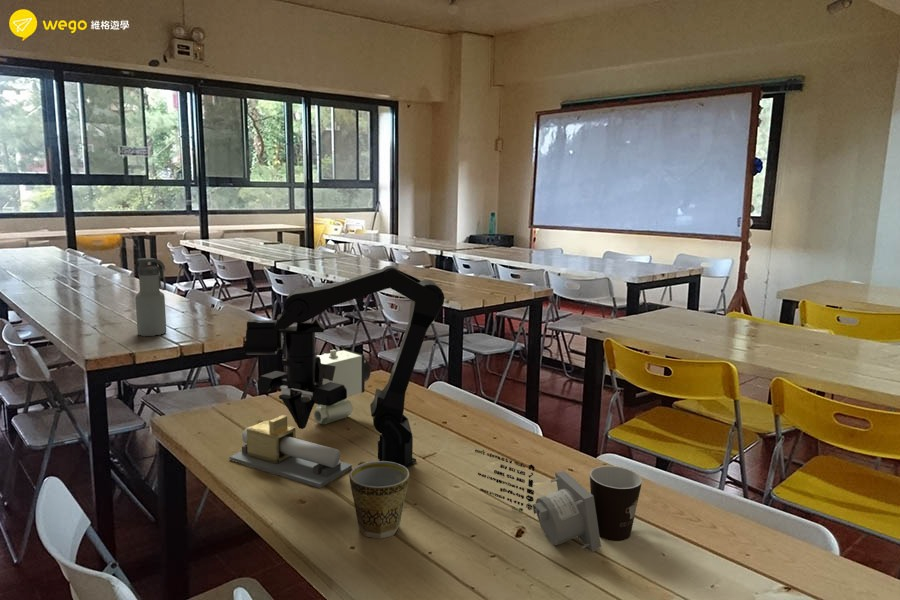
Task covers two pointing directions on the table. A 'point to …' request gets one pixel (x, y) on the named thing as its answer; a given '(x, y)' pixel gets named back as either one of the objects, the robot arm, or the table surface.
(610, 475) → the brown paper cup
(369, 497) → the ceramic cup
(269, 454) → the coupling
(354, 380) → the ball valve
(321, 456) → the pipe run
